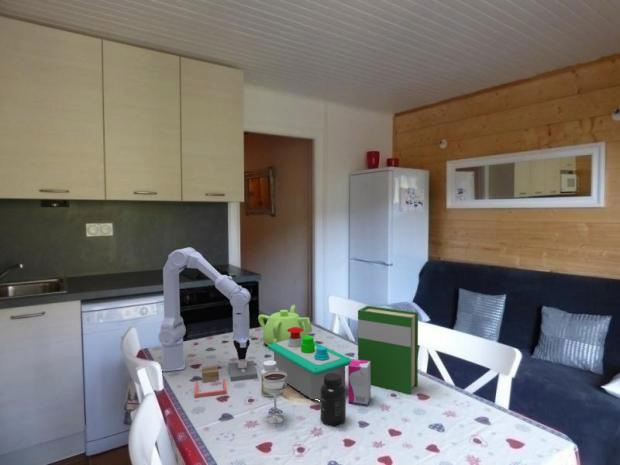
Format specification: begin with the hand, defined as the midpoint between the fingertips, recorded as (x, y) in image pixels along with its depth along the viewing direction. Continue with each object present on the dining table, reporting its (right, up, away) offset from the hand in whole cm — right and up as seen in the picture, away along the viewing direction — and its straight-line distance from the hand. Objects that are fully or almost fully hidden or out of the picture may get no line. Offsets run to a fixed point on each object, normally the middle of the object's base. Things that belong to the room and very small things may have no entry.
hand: (241, 360), depth 139 cm
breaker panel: (+1, -3, -2) cm, 4 cm away
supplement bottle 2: (+31, -5, -34) cm, 46 cm away
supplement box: (+39, -4, -23) cm, 46 cm away
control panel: (+24, -4, -11) cm, 26 cm away
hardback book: (+50, -4, -12) cm, 51 cm away
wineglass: (+15, -5, -33) cm, 36 cm away
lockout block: (-9, -4, -7) cm, 12 cm away
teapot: (+14, -2, +29) cm, 32 cm away
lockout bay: (-7, -4, -15) cm, 17 cm away
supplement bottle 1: (+12, -4, -18) cm, 22 cm away
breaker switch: (+1, -1, -2) cm, 2 cm away
